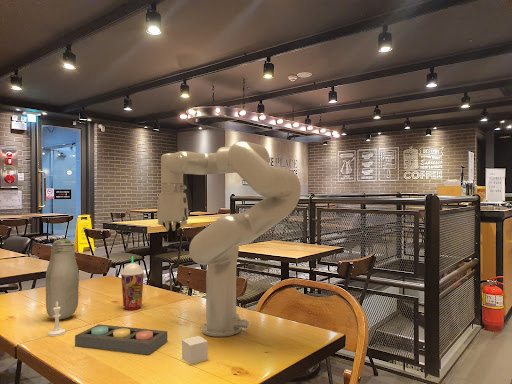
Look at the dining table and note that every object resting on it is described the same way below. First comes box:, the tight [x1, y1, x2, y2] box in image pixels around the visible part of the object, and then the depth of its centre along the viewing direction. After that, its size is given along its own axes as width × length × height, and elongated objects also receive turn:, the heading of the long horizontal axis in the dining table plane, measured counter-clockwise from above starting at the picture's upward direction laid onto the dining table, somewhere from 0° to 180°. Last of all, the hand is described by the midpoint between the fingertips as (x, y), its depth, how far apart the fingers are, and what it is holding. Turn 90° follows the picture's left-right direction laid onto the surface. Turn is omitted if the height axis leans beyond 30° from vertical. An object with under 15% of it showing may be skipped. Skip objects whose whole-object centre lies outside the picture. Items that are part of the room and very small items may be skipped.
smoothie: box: [120, 255, 145, 311], centre depth 146 cm, size 8×8×20 cm
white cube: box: [181, 335, 209, 366], centre depth 99 cm, size 5×5×5 cm
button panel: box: [74, 323, 168, 356], centre depth 110 cm, size 24×10×3 cm, turn 74°
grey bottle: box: [45, 238, 80, 321], centre depth 134 cm, size 10×10×28 cm
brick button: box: [136, 331, 153, 341], centre depth 108 cm, size 5×5×3 cm
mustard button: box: [113, 328, 130, 338], centre depth 110 cm, size 5×5×3 cm
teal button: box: [91, 326, 108, 336], centre depth 112 cm, size 5×5×3 cm
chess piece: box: [47, 301, 66, 337], centre depth 119 cm, size 5×5×10 cm
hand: (172, 241), depth 131 cm, fingers closed
